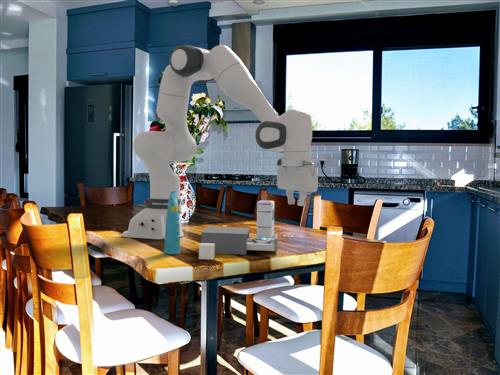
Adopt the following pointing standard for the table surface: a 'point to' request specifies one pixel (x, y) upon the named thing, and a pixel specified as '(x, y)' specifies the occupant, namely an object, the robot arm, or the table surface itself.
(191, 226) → the table surface
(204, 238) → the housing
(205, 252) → the block
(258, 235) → the syrup box
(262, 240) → the disc
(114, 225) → the table surface
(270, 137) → the robot arm
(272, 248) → the tray
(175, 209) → the tube
